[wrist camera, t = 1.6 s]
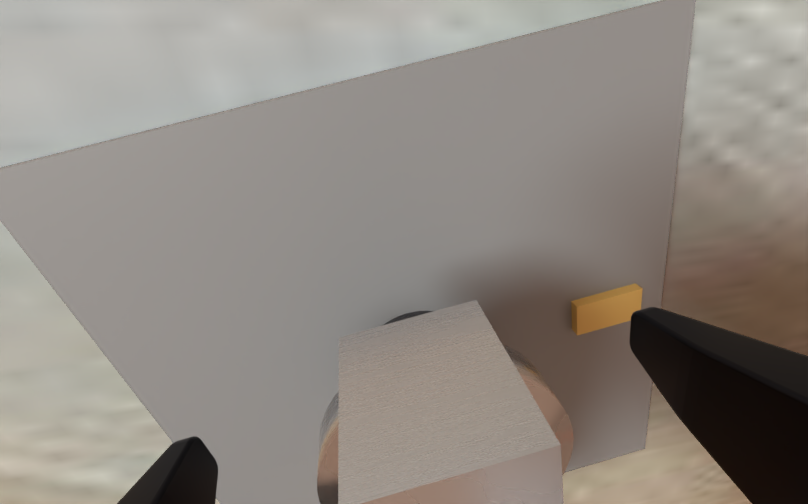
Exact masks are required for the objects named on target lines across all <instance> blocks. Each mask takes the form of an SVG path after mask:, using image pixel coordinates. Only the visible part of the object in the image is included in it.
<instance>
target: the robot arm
mask: <svg viewBox="0 0 808 504" xmlns="http://www.w3.org/2000/svg"><path fill="white" fill-rule="evenodd" d="M629 343H630V347H631V350H632V352H633V354H634V355H635V357H636V358H637V359H638V361H639V362H640V364H641V365H642V367H643V368H644V369H645V371H646V372H647V374H648V375H649V376H650V378H651V379H652V381H653V382H654V384H655V385H656V386H657V388H658V389H659V391H660V392H661V393H662V395H663V396H664V398H665V399H666V400H667V402H668V403H669V405H670V406H671V408H672V409H673V410H674V412H675V413H676V414H677V416H678V417H679V418H680V420H681V421H682V422H683V423H684V425H685V426H686V427H687V428H688V429H689V431H690V432H691V433H692V434H693V435H694V436H695V438H696V439H697V440H698V441H699V442H700V443H701V445H702V446H703V447H704V448H705V449H706V450H707V452H708V453H709V454H710V455H711V456H712V457H713V459H714V460H715V461H716V462H717V463H718V464H719V466H720V467H721V468H722V469H723V470H724V471H725V473H726V474H727V475H728V476H729V477H730V478H731V480H732V481H733V482H734V483H735V484H736V485H737V487H738V488H739V489H740V490H741V491H742V492H743V493H744V495H745V496H746V497H747V498H748V499H749V500H750V502H751V503H752V504H808V356H806V355H802V354H799V353H796V352H793V351H790V350H787V349H784V348H781V347H778V346H775V345H771V344H768V343H765V342H762V341H759V340H756V339H753V338H750V337H747V336H744V335H741V334H737V333H734V332H731V331H728V330H725V329H722V328H719V327H716V326H713V325H710V324H706V323H703V322H700V321H697V320H694V319H691V318H688V317H685V316H682V315H679V314H676V313H672V312H669V311H666V310H663V309H660V308H657V307H648V308H645V309H641V310H638V311H635V312H633V314H632V316H631V324H630V339H629ZM217 480H218V465H217V462H216V460H215V458H214V457H213V455H212V454H211V453H210V451H209V450H208V448H207V447H206V446H205V444H204V443H203V441H202V440H201V439H200V438H199V437H197V436H192V437H189V438H185V439H182V440H178V441H176V442H174V443H173V444H172V445H171V446H170V447H169V448H168V449H167V450H166V451H165V452H164V453H163V454H162V455H161V456H160V458H159V459H158V460H157V461H156V462H155V463H154V464H153V465H152V466H151V467H150V468H149V469H148V471H147V472H146V473H145V474H144V475H143V476H142V477H141V478H140V479H139V480H138V481H137V483H136V484H135V485H134V486H133V487H132V488H131V489H130V490H129V491H128V492H127V493H126V495H125V496H124V497H123V498H122V499H121V500H120V501H119V502H118V503H117V504H215V499H216V490H217Z"/></svg>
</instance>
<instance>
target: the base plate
mask: <svg viewBox="0 0 808 504" xmlns="http://www.w3.org/2000/svg"><path fill="white" fill-rule="evenodd" d="M695 2H696V0H661V1H657V2H653V3H649V4H645V5H641V6H638V7H634V8H630V9H626V10H622V11H618V12H614V13H610V14H606V15H602V16H598V17H594V18H590V19H586V20H582V21H578V22H574V23H570V24H566V25H563V26H559V27H555V28H551V29H547V30H543V31H539V32H535V33H531V34H527V35H523V36H519V37H515V38H511V39H507V40H503V41H499V42H495V43H491V44H487V45H484V46H480V47H476V48H472V49H468V50H464V51H460V52H456V53H452V54H448V55H444V56H440V57H436V58H432V59H428V60H424V61H420V62H416V63H412V64H408V65H405V66H401V67H397V68H393V69H389V70H385V71H381V72H377V73H373V74H369V75H365V76H361V77H357V78H353V79H349V80H345V81H341V82H337V83H333V84H329V85H326V86H322V87H318V88H314V89H310V90H306V91H302V92H298V93H294V94H290V95H286V96H282V97H278V98H274V99H270V100H266V101H262V102H258V103H254V104H251V105H247V106H243V107H239V108H235V109H231V110H227V111H223V112H219V113H215V114H211V115H207V116H203V117H199V118H195V119H191V120H187V121H183V122H179V123H175V124H172V125H168V126H164V127H160V128H156V129H152V130H148V131H144V132H140V133H136V134H132V135H128V136H124V137H120V138H116V139H112V140H108V141H104V142H100V143H96V144H93V145H89V146H85V147H81V148H77V149H73V150H69V151H65V152H61V153H57V154H53V155H49V156H45V157H41V158H37V159H33V160H29V161H25V162H21V163H17V164H14V165H10V166H6V167H2V168H0V221H1V222H2V223H3V225H4V226H5V227H6V229H7V230H8V231H9V232H10V234H11V235H12V236H13V238H14V239H15V240H16V241H17V243H18V244H19V245H20V247H21V248H22V249H23V250H24V252H25V253H26V254H27V256H28V257H29V258H30V259H31V261H32V262H33V263H34V265H35V266H36V267H37V268H38V270H39V271H40V272H41V274H42V275H43V276H44V277H45V279H46V280H47V281H48V283H49V284H50V285H51V286H52V288H53V289H54V290H55V292H56V293H57V294H58V295H59V297H60V298H61V299H62V301H63V302H64V303H65V304H66V306H67V307H68V308H69V310H70V311H71V312H72V313H73V315H74V316H75V317H76V319H77V320H78V321H79V322H80V324H81V325H82V326H83V328H84V329H85V330H86V331H87V333H88V334H89V335H90V337H91V338H92V339H93V340H94V342H95V343H96V344H97V346H98V347H99V348H100V349H101V351H102V352H103V353H104V355H105V356H106V357H107V358H108V360H109V361H110V362H111V364H112V365H113V366H114V367H115V369H116V370H117V371H118V373H119V374H120V375H121V376H122V378H123V379H124V380H125V382H126V383H127V384H128V385H129V387H130V388H131V389H132V391H133V392H134V393H135V394H136V396H137V397H138V398H139V400H140V401H141V402H142V403H143V405H144V406H145V407H146V409H147V410H148V411H149V412H150V414H151V415H152V416H153V418H154V419H155V420H156V421H157V423H158V424H159V425H160V427H161V428H162V429H163V430H164V432H165V433H166V434H167V436H168V437H169V438H170V439H171V441H172V442H173V443H174V442H176V441H178V440H182V439H185V438H189V437H192V436H197V437H199V438H200V439H201V440H202V441H203V443H204V444H205V446H206V447H207V448H208V450H209V451H210V453H211V454H212V455H213V457H214V458H215V460H216V462H217V465H218V480H217V490H216V499H217V500H218V501H219V503H220V504H320V502H319V497H318V492H317V473H318V455H319V437H320V428H321V424H322V420H323V417H324V415H325V412H326V409H327V407H328V406H329V404H330V402H331V401H332V399H333V397H334V396H335V395H336V394H337V392H338V391H339V337H342V336H346V335H350V334H353V333H357V332H360V331H364V330H368V329H371V328H375V327H378V326H382V325H384V324H385V323H387V322H388V321H390V320H392V319H394V318H396V317H398V316H400V315H403V314H406V313H411V312H416V311H436V310H440V309H443V308H447V307H451V306H454V305H458V304H461V303H465V302H469V301H472V300H477V302H478V304H479V305H480V307H481V309H482V310H483V312H484V314H485V316H486V317H487V319H488V321H489V322H490V324H491V326H492V328H493V329H494V331H495V333H496V335H497V336H498V338H499V340H500V341H501V343H502V345H505V346H508V347H510V348H512V349H514V350H516V351H518V352H519V353H521V354H522V355H524V356H525V357H526V358H528V359H529V360H530V361H531V362H532V363H533V364H534V365H535V366H536V367H537V369H538V370H539V371H540V373H541V374H542V376H543V377H544V379H545V380H546V382H547V383H548V385H549V386H550V388H551V390H552V391H553V393H554V394H555V396H556V397H557V399H558V400H559V402H560V403H561V405H562V406H563V408H564V410H565V411H566V413H567V415H568V416H569V419H570V422H571V425H572V428H573V436H574V441H573V451H572V454H571V458H570V461H569V464H568V466H567V468H566V470H565V472H568V471H571V470H575V469H578V468H581V467H585V466H588V465H592V464H595V463H598V462H602V461H605V460H608V459H612V458H615V457H619V456H622V455H625V454H629V453H632V452H636V451H639V450H642V449H645V444H646V435H647V426H648V417H649V408H650V400H651V391H652V382H653V381H652V379H651V378H650V376H649V375H648V374H647V372H646V371H645V369H644V368H643V367H642V365H641V364H640V362H639V361H638V359H637V358H636V357H635V355H634V354H633V352H632V350H631V347H630V343H629V339H630V324H631V316H632V314H633V312H635V311H638V310H641V309H645V308H648V307H657V308H660V309H661V302H662V294H663V285H664V276H665V267H666V258H667V249H668V241H669V232H670V223H671V214H672V205H673V196H674V188H675V179H676V170H677V161H678V152H679V143H680V135H681V126H682V117H683V108H684V99H685V90H686V82H687V73H688V64H689V55H690V46H691V37H692V29H693V20H694V11H695Z"/></svg>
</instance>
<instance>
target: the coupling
mask: <svg viewBox="0 0 808 504" xmlns="http://www.w3.org/2000/svg"><path fill="white" fill-rule="evenodd" d="M573 441H574V436H573V428H572V425H571V422H570V419H569V416H568V415H567V413H566V411H565V410H564V408H563V406H562V405H561V403H560V402H559V400H558V399H557V397H556V396H555V394H554V393H553V391H552V390H551V388H550V386H549V385H548V383H547V382H546V380H545V379H544V377H543V376H542V374H541V373H540V371H539V370H538V369H537V367H536V366H535V365H534V364H533V363H532V362H531V361H530V360H529V359H528V358H526V357H525V356H524V355H522V354H521V353H519V352H518V351H516V350H514V349H512V348H510V347H508V346H505V345H502V343H501V341H500V340H499V338H498V336H497V335H496V333H495V331H494V329H493V328H492V326H491V324H490V322H489V321H488V319H487V317H486V316H485V314H484V312H483V310H482V309H481V307H480V305H479V304H478V302H477V300H472V301H469V302H465V303H461V304H458V305H454V306H451V307H447V308H443V309H440V310H436V311H433V312H429V313H425V314H422V315H418V316H415V317H411V318H407V319H404V320H400V321H396V322H393V323H389V324H386V325H382V326H378V327H375V328H371V329H368V330H364V331H360V332H357V333H353V334H350V335H346V336H342V337H339V391H338V392H337V394H336V395H335V396H334V397H333V399H332V401H331V402H330V404H329V406H328V407H327V409H326V412H325V415H324V417H323V420H322V424H321V428H320V437H319V455H318V473H317V492H318V497H319V502H320V504H564V502H563V481H562V475H563V474H564V472H565V470H566V468H567V466H568V464H569V461H570V458H571V454H572V451H573Z"/></svg>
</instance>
